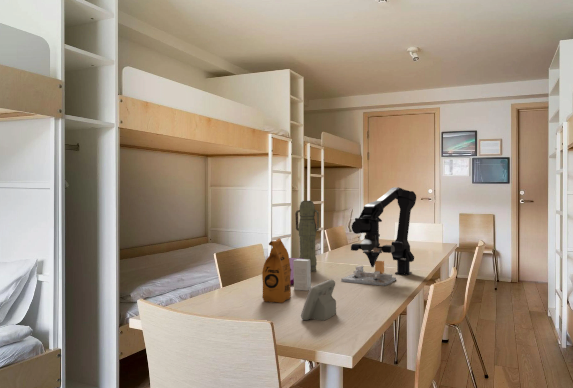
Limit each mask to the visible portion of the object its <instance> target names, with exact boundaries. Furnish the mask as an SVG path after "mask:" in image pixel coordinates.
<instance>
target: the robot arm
mask: <svg viewBox="0 0 573 388" xmlns="http://www.w3.org/2000/svg"><path fill="white" fill-rule="evenodd" d="M395 200H396V201H397V205H398V206H399V216H398V225H397V231H396V232H397V233H396V239H395V240H394V241H392V242H391V244H384V245H382V246H381V243H380V235H381V234H379V233H380V231H379V230H380V227H379V225H380V224H379V223H382V222H383V220H382V219H381V218H380V216H381V215H382V214H383V213H384V209H385V208H386V207H388V205H390V204H391V203H392V202H393V201H395ZM416 201H417V194H416V193H415V192H414V191H413V190H407V189H404V188H402V187H391V188H389V190H387V192H386V193H384V194H383V195H382V196H380V197H379V198H378V199H376V200H374V201H371V202H368V203H366V204H364V206H363V208H362V211H361V213H360V215H359V217H355V218H354V221H353V222H352V224H351V231H352V232H353V234H355V235H357V234H364V239H363V240H362V241H361V242H359V243H358V242H356V243H353V244H351V245H350V251H355V252H356V251H357V252H358V251H359V250H361V251H362V253H363V254H365V255H366V257H367V259H368V261H369V264H370V266H371V268H375V261H378V258H379V256H380V254H382V253H384V254H385V253H386V254H387V253H388V254H391V256H392V259H393V261H396V262H397V263H396V265H397V269H396V270H397V271H395V272H394V274H395V275H405V276H408V275H411V274H413V272H412V271H410V270H411V269H410V268H411V267H410V266H411V265H410V263H412V262H414V261H415V256H414V254H413V253H412V252H411V245H410V243H409V240H408V238H409V237H408V236H409V229H410V228H409V227H410V221H411V212H412V209H413V208H414V207H415V205H416Z"/></svg>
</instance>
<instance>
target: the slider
mask: <svg viewBox="0 0 573 388" xmlns="http://www.w3.org/2000/svg"><path fill="white" fill-rule="evenodd" d="M373 272H374V274H375V279H377V274H380V273H385V260H376V261H375V265H374V271H373Z"/></svg>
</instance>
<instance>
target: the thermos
mask: <svg viewBox="0 0 573 388" xmlns="http://www.w3.org/2000/svg"><path fill="white" fill-rule="evenodd" d="M315 208H316V206H315V204H314V201H312V200H302V201H300V204H299V210H296V212H295V214H294V215H295V229H296V231H297V232H298V238H299V257H298V258H304V259H306V260H310V264H311V272H316V271H317V265H318V264H317V256H316V236H317V232H318V231H319V230H320V221H319V219H320V216H319V215H320V213H319V211H318V210H317V209H315ZM315 214H316V215H315ZM315 216H316V221H315Z"/></svg>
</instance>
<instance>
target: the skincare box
mask: <svg viewBox="0 0 573 388" xmlns="http://www.w3.org/2000/svg"><path fill="white" fill-rule="evenodd" d="M293 263H294V283H293V290H295V291H306V292H307V291H308V292H309V289H310V288H311V287H312V285H311V284H312V275H311V273H312V271H311V264H310V260H306V259H296V260H294V261H293Z"/></svg>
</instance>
